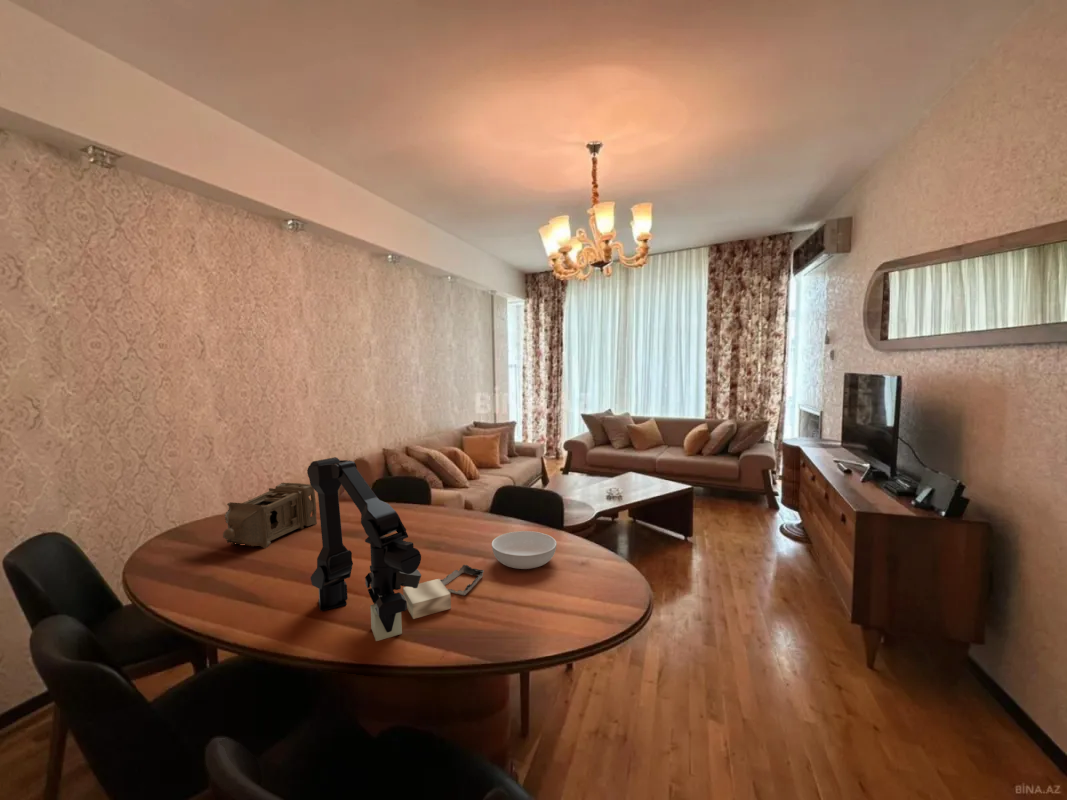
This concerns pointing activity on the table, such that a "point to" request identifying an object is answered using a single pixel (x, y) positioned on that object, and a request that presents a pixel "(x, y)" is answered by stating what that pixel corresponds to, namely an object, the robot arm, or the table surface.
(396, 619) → the green cube
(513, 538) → the serving bowl
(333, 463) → the robot arm
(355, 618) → the table surface
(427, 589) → the beige square block
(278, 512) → the toy tower
